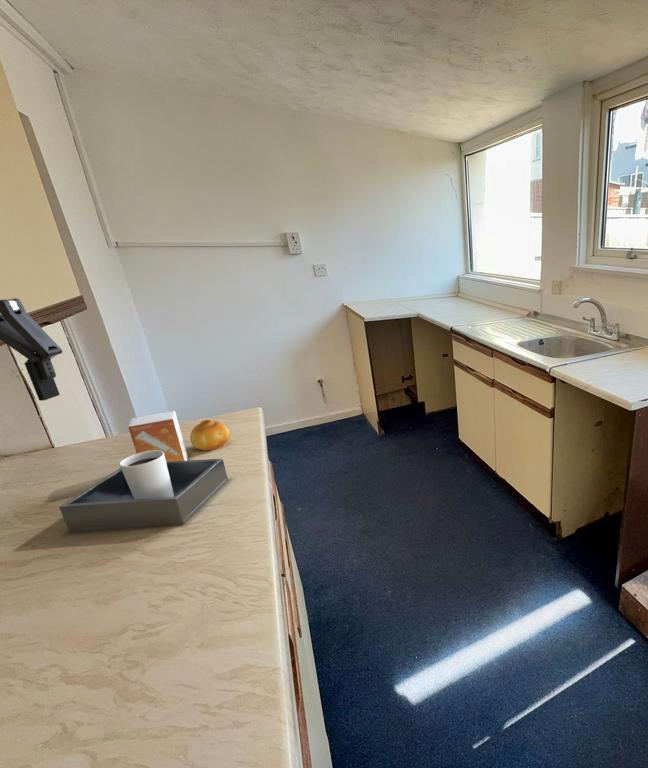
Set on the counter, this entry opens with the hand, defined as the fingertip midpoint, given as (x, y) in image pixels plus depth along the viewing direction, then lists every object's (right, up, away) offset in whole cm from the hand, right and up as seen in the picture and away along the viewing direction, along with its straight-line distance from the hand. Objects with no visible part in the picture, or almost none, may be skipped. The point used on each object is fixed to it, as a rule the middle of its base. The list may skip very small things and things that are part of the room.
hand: (3, 399), depth 66 cm
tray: (+11, -23, +16) cm, 30 cm away
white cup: (+11, -22, +16) cm, 29 cm away
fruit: (+4, -15, +41) cm, 44 cm away
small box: (0, -18, +31) cm, 36 cm away
